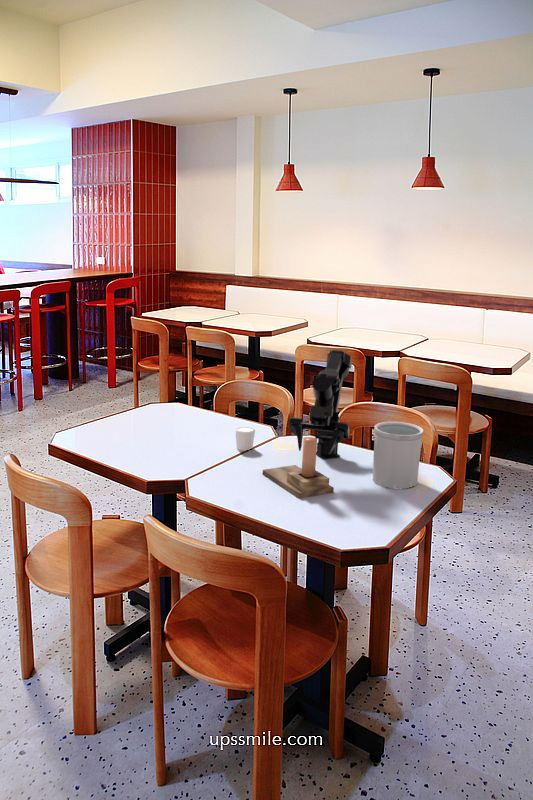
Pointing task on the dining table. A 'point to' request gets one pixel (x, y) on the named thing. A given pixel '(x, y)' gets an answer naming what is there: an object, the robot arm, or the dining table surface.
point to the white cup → (244, 438)
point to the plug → (309, 456)
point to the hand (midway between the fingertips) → (314, 451)
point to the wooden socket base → (299, 481)
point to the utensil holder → (396, 454)
